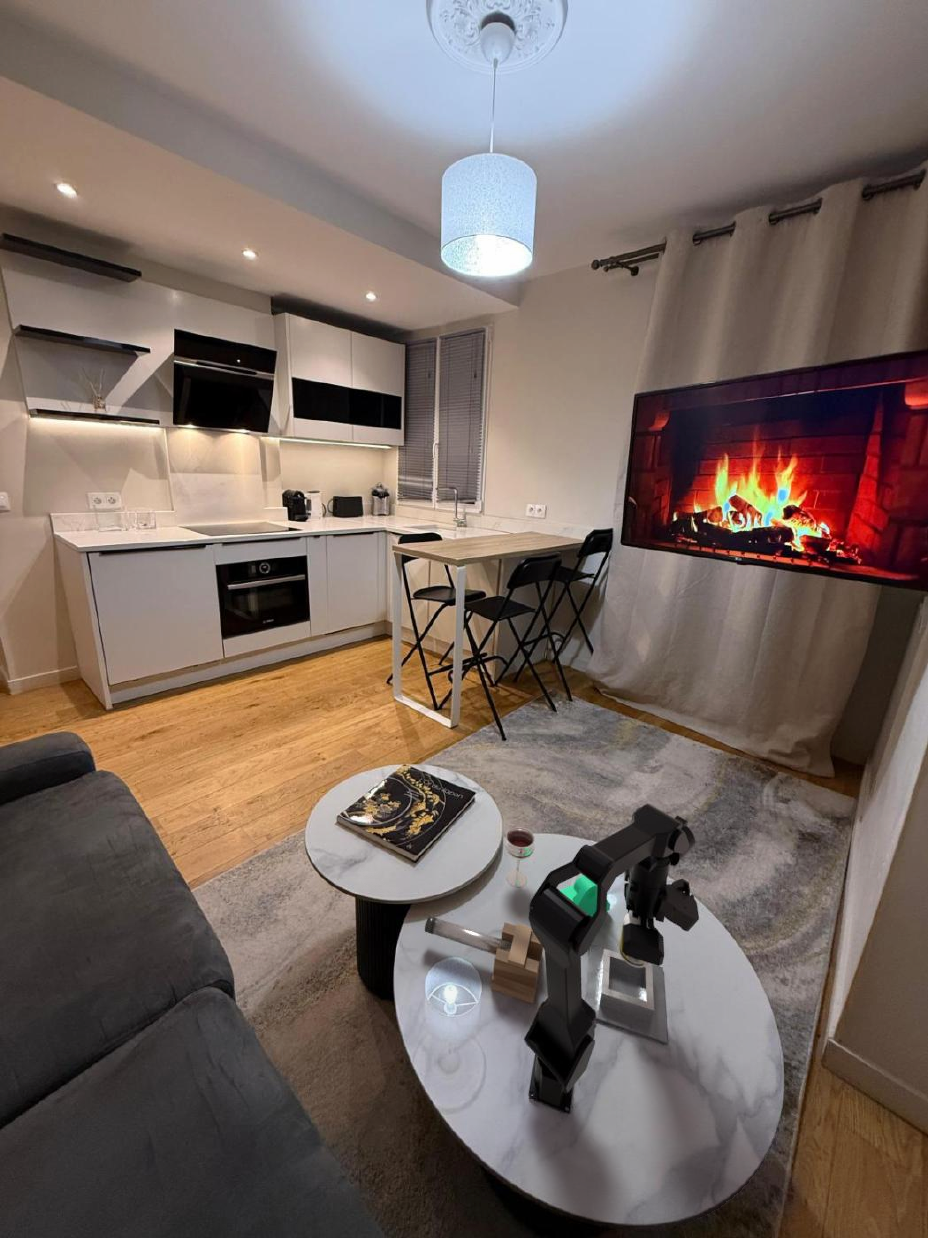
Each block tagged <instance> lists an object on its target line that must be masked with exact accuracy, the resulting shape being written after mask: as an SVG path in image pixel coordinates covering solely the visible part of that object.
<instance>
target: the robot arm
mask: <svg viewBox="0 0 928 1238" xmlns="http://www.w3.org/2000/svg"><path fill="white" fill-rule="evenodd" d="M688 823H689V821H688V820H687V819H685V818H683V817H681V816H679V815H676V816H675V817H673V816H671V815H669V814H668V813H665V812H664V811H662V810H660V809H658V808H657V807H655V806H653V805H651V804H650V803H646V804H643V805H642V806H641V807H638V808H636V809H635V811H633V813H632V814H631V821H630V824H628V825H627V826H625V827H624V828H621V829H619V830H617V831H616V832H614V833H612V834H609V836H607V837H605V838H603V839H602V840H600V841H598V842H596V843H594V844H592V845H588V844H584V845H583V846H581V847H580V849H578V851H577V853H576V854H575V856H574V858H573V859H572V860H571V861H570V862H568V863H566V864H564V865H561V866H559V867H557V868H556V869H553V870H551V871H550V872H549V873H548V874H547V875H546V876H545V879H544V880H543V881H542V883H541V884H540V886H539V887H538V889H537V890H536V891H535V893H534V894H533V896H532V898H531V899H530V903H529V906H528V909H529V910H528V923H529V925H530V927H531V928H532V931H533V933H534V934H535V936H536V937H537V939H538V940H539V942H540V943H541V945H542V946H543V951H544V961H545V974H546V975H545V976H546V977H545V978H546V988H547V992H546V993H547V998H546V999H545V1000H544V1001H542V1002H541V1004H540V1006H539V1007H538V1009H537V1012H536V1014H535V1016H534V1018H533V1021H532V1023H531V1024H530V1027H529V1028H528V1030H527V1032H526V1034H525V1036H524V1038H523V1040H524V1041H523V1042H524V1043H525V1045H526V1046H527V1047H529V1048H530V1050H531V1051H532V1052H533V1053H534V1058H533V1065H532V1069H531V1070H532V1071H531V1076H530V1082H529V1089H528V1098H529V1099H530V1100H532V1101H535V1102H538V1103H540V1104H543V1105H545V1106H547V1107H548V1108H552V1109H554V1110H557V1111H559V1112H561V1113H564V1114H566V1115H568V1114H569V1115H570V1113H571V1111H572V1110H571V1108H572V1099H573V1089H574V1086H575V1084H576V1083H577V1082H578V1080H579V1079H580V1078H581V1077H582V1076H583V1075H584V1073H585V1072H586V1071H587V1068H588V1066H589V1062H590V1059H591V1056H592V1055H593V1051H594V1048H595V1045H596V1040H595V1033H596V1031H595V1029H596V1028H597V1027H598V1025H597V1023H596V1022H597V1020H596V1013H595V1010H594V1009H593V1008H592V1007H591V1006H590V1005H589V1004H588V1003H587V1002H586V1001H585V998H583V996H582V992H583V991H582V956H584V955H585V954H586V953H587V952H588V951H589V950H590V947H591V945H592V946H593V943H594V942H595V940H596V938H597V936H598V935H599V933H600V932H601V930H602V929H603V926H604V925H605V924H606V922H607V912H608V911H607V900H608V892H609V890H610V889H611V887H612V886H613V884H614V883H615V881H616V879H617V878H618V877H619V876H621V875H622V874H624V879H623V881H625V883H624V885H623V887H624V888H623V896H624V900H625V904H626V905H625V909H626V910H627V914H628V913H629V910H630V911H632V917H633V918H636V919H638V916H639V924H633V923H628V924H626V925H623V924H622V927H623V936H622V952H623V953H624V954H625V955H626V956H629V957H632V958H634V959H637V960H642V961H645V962H648V963H651V964H653V965H657V966H660V967H661V966H662V965H663V964H664V959H665V946H664V945H665V942H664V936H663V935H662V934H661V933H660V931H659V930H658V928H656V927H654V926H655V921H657V922H661V923H664V921H665V920H668V921H670V922H671V923H672V924H674V925H676V926H678V927H679V928H681V930H683V931H684V932H689V931H690V930H691V929H692V928H694V926H695V924H696V923H698V921H700V920H699V919H700V916H699V915H700V914H699V907H698V903H697V900H696V899H695V895H694V894H691V887H690V882H689V881H688V880H686V879H684V878H680V879H677V880H674V881H673V882H672V883H668V878H669V871H670V867H671V866H672V867H676V866H677V865H678V864H679V863H680V862H681V861H682V860H683V859H684V858H685V857H686V856H687V854H689V853H690V852H691V851H692V850H693V849H694V847H695V845H696V840H695V835H694V833H693V832H692V830H691V829H690V828H689V826H688ZM580 874H581V876H582V875H584V876H585V877H586V878H588V879H589V880H590V881H592V882H593V883H594V884H596V885H597V908H596V912H595V913H594V915H593V917H591V916H590V915H589V914H588V913H586V912H585V911H584V910H583V909H582V908H580V907H579V906H578V905H577V904H575V903H574V902H573V901H572V900H571V899H569V898H568V897H567V896H566V895H564V894H563V893H562V892H561V891H559V890H560V889H558V886H559V885H560V884H563V883H565V882H566V881H568V880H570V879H573V878H574V877H577V876H579V875H580ZM667 883H668V884H667ZM647 919H648V920H647ZM654 920H655V921H654ZM647 921H648V922H647ZM647 923H648V924H647ZM647 925H648V926H647ZM648 927H649V928H648ZM531 1094H532V1095H531Z"/></svg>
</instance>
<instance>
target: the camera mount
mask: <svg viewBox="0 0 928 1238" xmlns="http://www.w3.org/2000/svg"><path fill="white" fill-rule="evenodd" d="M558 890H559V891H561V892H562V893H563V894H564V895H566V896H567V897H568V898H569V899H571V900H572V901H573V902H574V903H575V904H577V905H578V906H579V907H580V908H582V909H583V910H584V911H585V912H586V913H588V914H589V915H590V916H591V917H593V915H594V913H595V912H596V908H597V885H596V884H594V883H593V882H592V881H590V880H589V879H588V878H586V877H585V876H584V875H582V874H581V876H579V877H577V879H576V880H575V882H574V884H572V885H570V886H567V887H565V888H562V889H558ZM610 909H611V904H610V902H609V901H608V899H607V911H606V912H608V911H610Z"/></svg>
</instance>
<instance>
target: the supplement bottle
mask: <svg viewBox="0 0 928 1238" xmlns="http://www.w3.org/2000/svg"><path fill="white" fill-rule="evenodd" d="M647 920H648V919H647ZM647 922H648V921H647ZM628 923H633V924H639V916H638V919H636V918H633V917H632V911H630V910H629V913H628V912H627V914H626V915H625V916H624V917H623V922H622V928H621V933H620V939H619V944H618V945H619V948H618V952H619V953H620V955H621V957H622V958H623V959H624V961H625V962H626V963H628V964H629V965H631V966H633V967H636V968H642V967H645V966H646V965H648V962H645V961H642V960H637V959H634V958H632V957H629V956H626V955H625V954H624V953H623V952H622V936H623V925H626V924H628ZM647 924H648V923H647ZM647 926H648V925H647ZM654 927H655V925H654ZM648 928H649V927H648ZM655 928H656V927H655Z"/></svg>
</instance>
